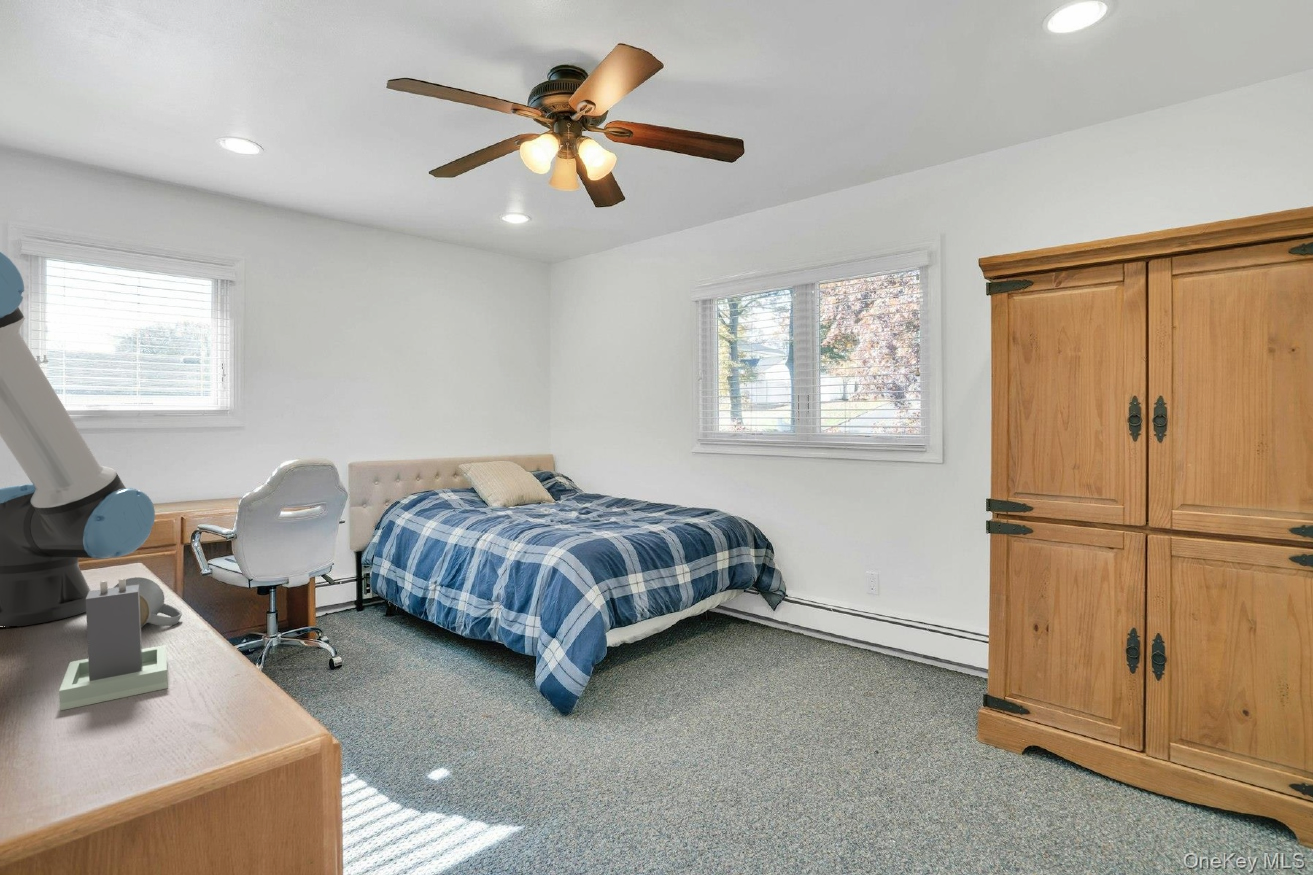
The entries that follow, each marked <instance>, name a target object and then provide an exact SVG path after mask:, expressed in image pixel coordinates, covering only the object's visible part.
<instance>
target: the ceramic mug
mask: <svg viewBox="0 0 1313 875" xmlns="http://www.w3.org/2000/svg"><path fill="white" fill-rule="evenodd" d="M125 579H126V578H125ZM131 585H139V597H140V620H141V628H143V627H144V626H145V625H146V624H151V625H154V626H155V625H156V626H161V627H171V626H175V625H177V624H178V623H179V622H180V619H181V617H182V615H183V613H182V611H181V610H180V609H178V608H176V607H174V606H173V605H172V606H171V605H169V604H166V603H165V593H164V591H163V589H162V588H161V586H160V585H159V584H158V583H156V582H155V581H154V580H151V579H149V578H145V577H136V576H135V577H130V578H129V577H128V578H127V579H126V586H131ZM116 587H119V582H118V583H117V584H116V585H114V586H113V588H116ZM159 614H163V615H165V616H163V615H159Z"/></svg>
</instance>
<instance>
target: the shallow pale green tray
mask: <svg viewBox="0 0 1313 875" xmlns="http://www.w3.org/2000/svg"><path fill="white" fill-rule="evenodd" d="M167 659H168V658H167V644H164V645H159V646H152V647H148V648H142V665H143V668H142V671H140V672H135V673H130V674H125V675H119V676H114V677H109V678H104V679H99V680H94V681H89V660H88V658H85V659H78V660H73V661H70V662H69V664H68V667H67V669H66V672H65V674H64V677H63V679H62V682H61V685H60V687H59V690H58V692H59V693H58V696H59V699H58V700H59V711H60V712H61V711H64V710H70V709H75V708H79V707H84V706H88V705H93V704H97V703H103V702H108V701H112V700H113V701H114V700H117V699H122V698H127V697H133V696H137V695H142V694H146V693H150V692H151V693H152V692H156V691H160V690H165V689H168V687H169V686H168V660H167Z"/></svg>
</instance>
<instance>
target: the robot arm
mask: <svg viewBox="0 0 1313 875" xmlns="http://www.w3.org/2000/svg"><path fill="white" fill-rule="evenodd" d="M23 280H24V279H23V277H22V274H21V273H20V270H19V269H18V267H17V266H16V264H15V263H14V262H13V261H12V260H11V258H9V257H8V256H7V255H6V254H5V253H4V252H2V251H1V250H0V437H1V439H2V440H3V442H4V443H5V445H6V446H7V448H8V449H9V451H10V452H11V454H12V456H13V457H14V458H15V460H16V461H17V463H18V464H19V466H20V467H21V469H22V471H24V473H25V474H26V476H27V477H28V479H29V481H30V482H31V483H29V484H23V485H22V484H21V485H20V484H19V485H12V486H7V487H6V486H5V487H0V626H3V627H4V626H5V627H6V628H10V627H9V626H17V627H24V626H30V625H37V624H42V623H47V622H54V621H58V620H62V619H67V618H70V617H73V616H77V615H81V614H83V613H86V597H87V595H88V593H89V591H92V590H91V588H90V587H89V586H90V585H88V582H87V581H86V579H85V577H84V574H83V572H82V571H81V568H80V566H79V565H80V564H79V558H82V559H83V558H85V559H87V558H88V559H97V560H104V559H108V558H120V557H121V558H122V557H125V556H127V555H129V554H132V553H133V552H135V551H136V550H138V549H139V548H141V547H142V546H143V545H144V543H145V542H146V541H147V539H148V538H149V537H150V534H151V532H152V528H153V526H154V525H155V520H156V519H155V518H156V513H155V512H156V511H155V507H154V504H153V501H152V499H151V498H150V497H149V495H148V494H147V493H145V492H143V491H141V490H138V489H136V488H133V487H128V488H127V487H126V486H125V484H124V482H123V481H122V479H121V477H120V476H119V475H118V473H117V471H116V470H115V469H114V468H112V467H109V466H104V465H100V464H99V462H98V460H97V459H96V457H95V456H94V454H93V452H92V451H91V449H90V448H89V445H88V444H87V442H86V441H85V439H84V438H83V436H82V434H81V432H80V431H79V430H78V428H77V426H76V425H75V422H74V421H73V419H72V418H71V416H70V414H69V413H68V411H67V410H66V408H65V406H64V404H63V402H62V401H61V399H60V398H59V397H58V395H57V392H56V391H55V390H54V388H53V387H52V385H51V383H50V382H49V379H48V378H47V376H46V375H45V373H44V371H43V370H42V367H41V366H40V365H39V363H38V362H37V360H36V358H35V356H34V355H33V353H32V352H31V349H30V348H29V346H28V344H27V343H26V342H25V339H24V338H23V337H22V335H21V333H20V329H21V327H22V325H23V323H24V322H25V319H26V318H25V316H24V314H23V313H22V311H21V309H20V305H21V304H22V302H23V299H24V296H23V295H22V294H23V293H24V292H25V285H24V284H25V283H24V281H23Z"/></svg>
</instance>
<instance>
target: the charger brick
mask: <svg viewBox="0 0 1313 875" xmlns="http://www.w3.org/2000/svg"><path fill="white" fill-rule="evenodd" d="M118 583H119V587H116V588H114V587H109V588H108V586H109V585H108V580H101V581H100V582H99V588H100V589H95V590H91V591H89V593H88V595H87V597H86V612H85V613H86V614H85V615H86V632H87V655H88V656H87V657H88V658H87V659H88V660H89V681H94V680H99V679H104V678H109V677H114V676H119V675H125V674H130V673H135V672H140V671H142V668H143V665H142V649H143V647H142V644H143V643H142V627H141V620H140V597H139V585H131V586H126V578H118Z"/></svg>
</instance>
